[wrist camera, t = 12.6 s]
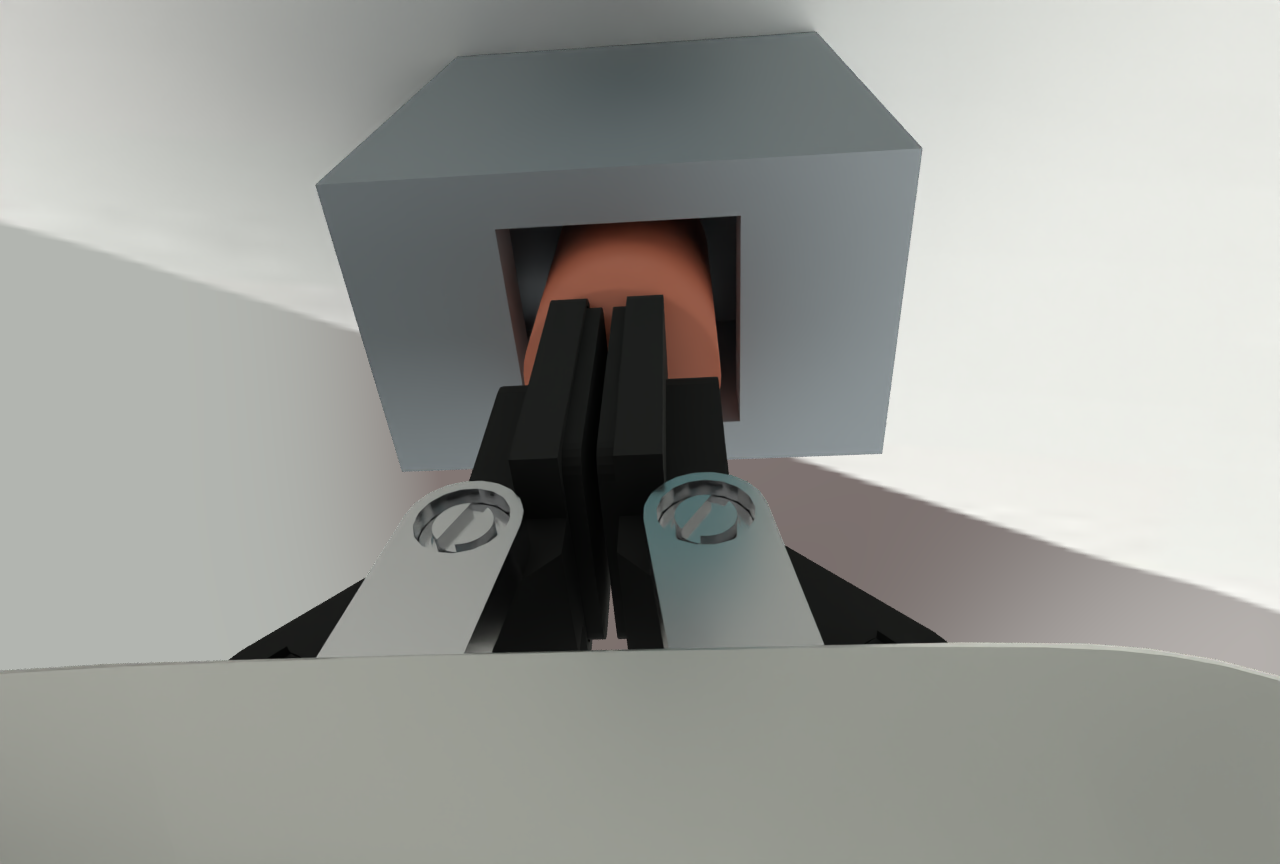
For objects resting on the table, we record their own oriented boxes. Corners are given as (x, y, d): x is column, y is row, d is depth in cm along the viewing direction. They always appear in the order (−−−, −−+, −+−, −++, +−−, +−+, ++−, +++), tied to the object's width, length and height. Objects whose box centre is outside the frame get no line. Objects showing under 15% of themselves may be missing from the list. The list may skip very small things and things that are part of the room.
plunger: (549, 185, 15) (508, 294, 11) (706, 175, 15) (720, 283, 11) (567, 324, 17) (538, 461, 13) (708, 318, 17) (722, 454, 13)
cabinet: (457, 57, 20) (315, 185, 12) (816, 31, 20) (922, 148, 12) (494, 260, 23) (402, 471, 15) (805, 244, 23) (882, 453, 15)
